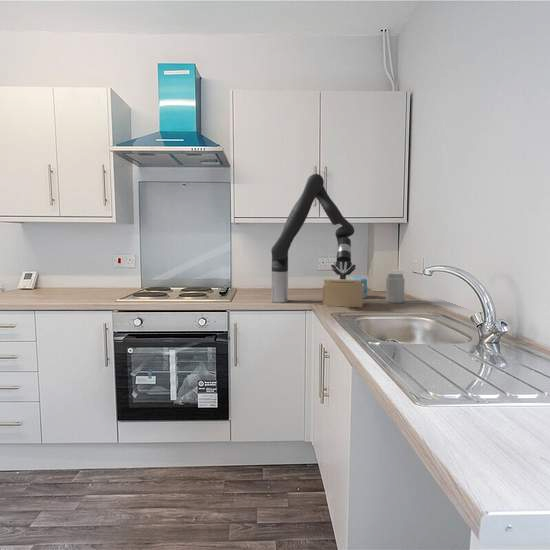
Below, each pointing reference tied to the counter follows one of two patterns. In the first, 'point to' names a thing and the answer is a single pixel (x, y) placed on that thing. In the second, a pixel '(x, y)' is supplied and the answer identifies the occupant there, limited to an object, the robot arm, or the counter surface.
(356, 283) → the flap
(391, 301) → the jar
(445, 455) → the counter surface
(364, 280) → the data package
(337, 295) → the carton
